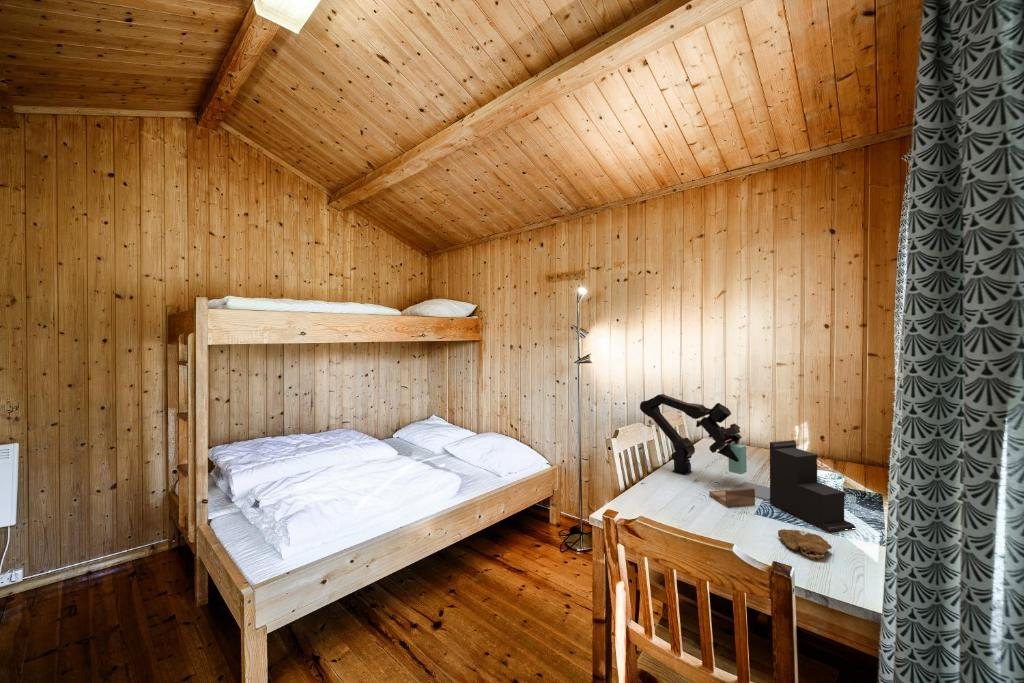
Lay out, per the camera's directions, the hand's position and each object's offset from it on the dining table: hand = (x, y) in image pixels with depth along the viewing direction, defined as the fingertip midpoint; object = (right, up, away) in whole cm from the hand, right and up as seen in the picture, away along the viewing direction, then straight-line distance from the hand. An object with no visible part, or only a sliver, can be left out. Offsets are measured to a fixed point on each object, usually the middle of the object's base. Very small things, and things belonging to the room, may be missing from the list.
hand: (740, 460), depth 170 cm
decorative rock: (-8, -13, -49) cm, 51 cm away
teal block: (-1, -5, +1) cm, 5 cm away
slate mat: (+4, -11, -4) cm, 13 cm away
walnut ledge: (-11, -12, -13) cm, 21 cm away
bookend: (+8, -12, -28) cm, 31 cm away
